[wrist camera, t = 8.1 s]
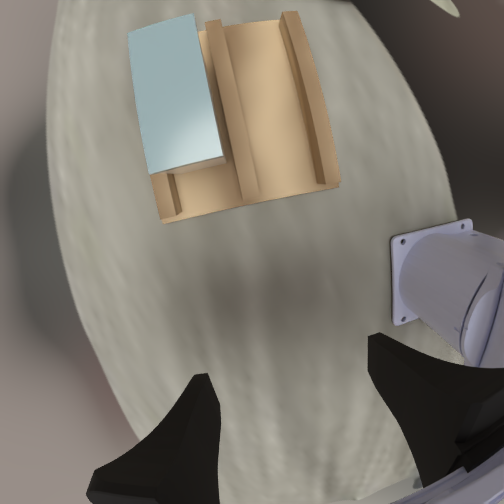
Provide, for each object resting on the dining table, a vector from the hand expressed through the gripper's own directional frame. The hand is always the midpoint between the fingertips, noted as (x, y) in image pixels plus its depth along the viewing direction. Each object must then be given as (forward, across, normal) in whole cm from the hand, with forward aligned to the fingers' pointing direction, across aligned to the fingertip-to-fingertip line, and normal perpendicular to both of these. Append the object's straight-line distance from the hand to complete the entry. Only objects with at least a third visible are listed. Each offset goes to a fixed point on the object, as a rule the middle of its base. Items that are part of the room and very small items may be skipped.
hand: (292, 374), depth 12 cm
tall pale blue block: (+9, +2, -13) cm, 16 cm away
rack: (+10, 0, -13) cm, 16 cm away
